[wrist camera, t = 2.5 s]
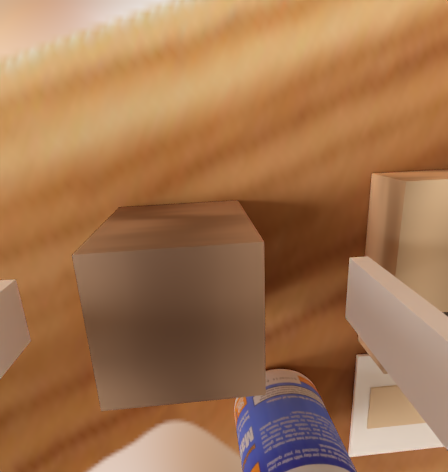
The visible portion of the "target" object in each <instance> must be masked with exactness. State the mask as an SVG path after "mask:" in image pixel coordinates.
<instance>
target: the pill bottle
mask: <svg viewBox="0 0 448 472" xmlns="http://www.w3.org/2000/svg"><path fill="white" fill-rule="evenodd" d="M265 374H266V395H260V396H250V397H240V398H236V400H235V405H234V415H235V423H236V430H237V437H238V444H239V450H240V457H241V464H242V470H243V472H357V471H356V469H355V467H354V465H353V463H352V461H351V459H350V457H349V455H348V453H347V451H346V449H345V447H344V445H343V443H342V441H341V439H340V437H339V434H338V432H337V430H336V428H335V426H334V424H333V422H332V420H331V418H330V416H329V414H328V412H327V410H326V407H325V405H324V403H323V401H322V399H321V397H320V395H319V393H318V391H317V389H316V387H315V386H314V384H313V383H312V382H311V381H310V380H309V379H308V378H307V377H306V376H304V375H303V374H301V373H299V372H296V371H293V370H288V369H273V370H268V371H265Z"/></svg>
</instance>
